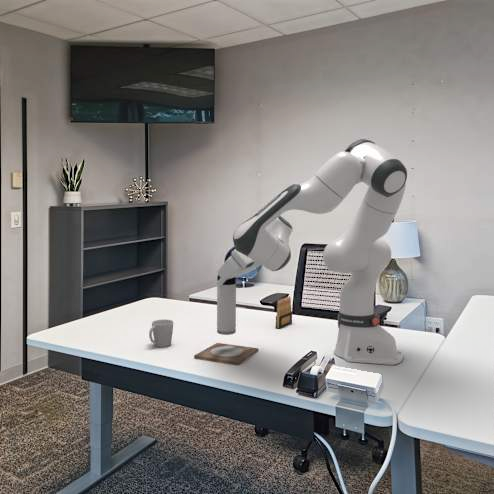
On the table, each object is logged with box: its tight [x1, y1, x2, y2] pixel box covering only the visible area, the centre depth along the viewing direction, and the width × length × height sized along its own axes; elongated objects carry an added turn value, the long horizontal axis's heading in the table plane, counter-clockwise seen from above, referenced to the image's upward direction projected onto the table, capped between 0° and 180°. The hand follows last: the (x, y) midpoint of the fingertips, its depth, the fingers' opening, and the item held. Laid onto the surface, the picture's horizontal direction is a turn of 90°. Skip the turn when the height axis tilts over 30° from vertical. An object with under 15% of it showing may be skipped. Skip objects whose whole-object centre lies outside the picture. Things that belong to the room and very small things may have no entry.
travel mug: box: [216, 274, 237, 336], centre depth 164 cm, size 6×7×20 cm
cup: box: [148, 319, 174, 348], centre depth 175 cm, size 8×10×8 cm
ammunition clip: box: [275, 295, 293, 330], centre depth 203 cm, size 11×2×12 cm, turn 146°
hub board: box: [193, 342, 259, 366], centre depth 165 cm, size 16×16×1 cm
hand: (224, 281), depth 164 cm, fingers closed on travel mug, 6 cm apart
